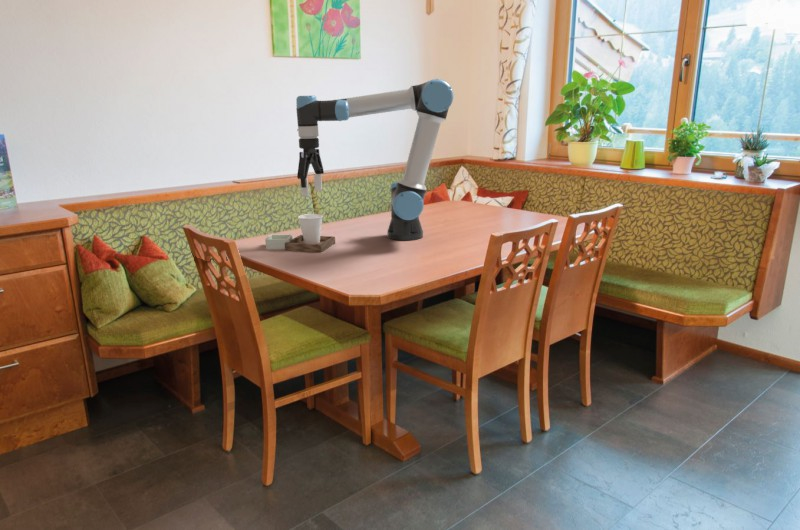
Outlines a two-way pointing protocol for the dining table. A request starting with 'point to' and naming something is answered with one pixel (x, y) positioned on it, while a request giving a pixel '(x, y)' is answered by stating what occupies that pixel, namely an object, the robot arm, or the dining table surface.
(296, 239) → the brown square tray
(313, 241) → the cup
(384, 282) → the dining table surface
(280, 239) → the small crate
